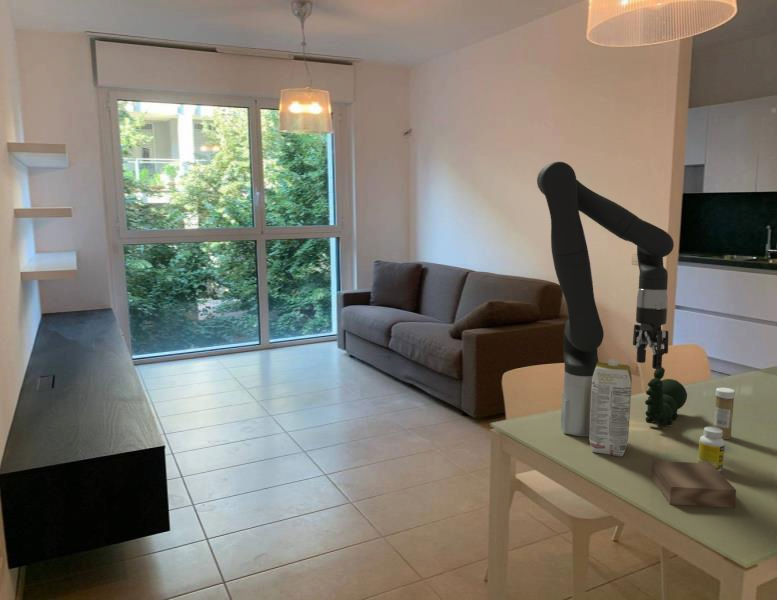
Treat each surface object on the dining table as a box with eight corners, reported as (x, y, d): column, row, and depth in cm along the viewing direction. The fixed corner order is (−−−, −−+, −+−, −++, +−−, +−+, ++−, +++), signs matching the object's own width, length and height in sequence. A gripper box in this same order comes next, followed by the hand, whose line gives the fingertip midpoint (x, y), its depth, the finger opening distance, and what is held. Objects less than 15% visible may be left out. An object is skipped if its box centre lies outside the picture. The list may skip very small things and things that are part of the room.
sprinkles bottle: (734, 437, 162) (738, 390, 160) (725, 441, 160) (729, 393, 157) (717, 432, 166) (721, 385, 164) (708, 435, 163) (712, 388, 161)
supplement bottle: (721, 474, 140) (725, 435, 138) (696, 469, 143) (699, 430, 141) (723, 466, 145) (726, 427, 143) (698, 461, 147) (701, 423, 146)
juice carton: (628, 447, 156) (633, 359, 152) (626, 459, 149) (632, 366, 145) (590, 442, 160) (595, 355, 156) (587, 453, 153) (592, 363, 149)
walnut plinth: (669, 504, 126) (671, 486, 126) (651, 476, 139) (652, 460, 139) (734, 507, 125) (736, 490, 124) (709, 479, 137) (711, 463, 137)
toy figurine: (669, 441, 164) (691, 408, 183) (672, 376, 160) (694, 350, 178) (634, 433, 170) (659, 402, 189) (636, 370, 166) (661, 346, 184)
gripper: (625, 303, 165) (623, 360, 167) (651, 308, 151) (648, 370, 153) (651, 303, 166) (648, 360, 167) (680, 308, 152) (676, 371, 153)
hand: (648, 365), depth 160 cm, fingers open, 8 cm apart
